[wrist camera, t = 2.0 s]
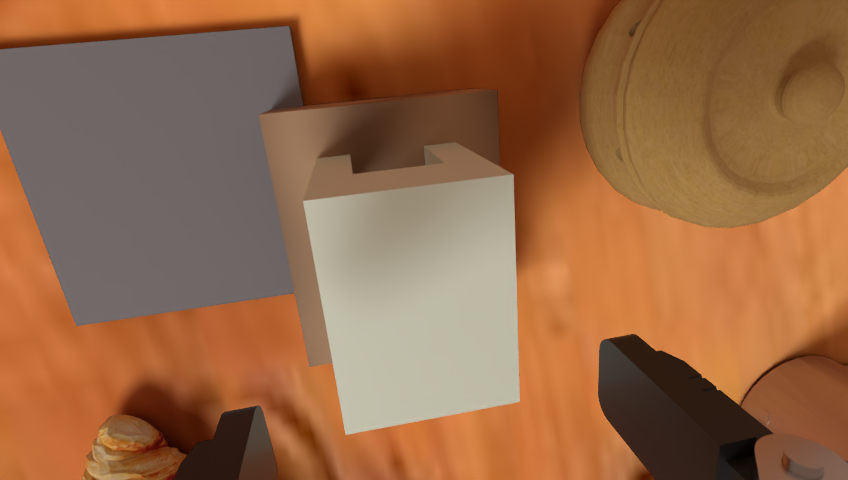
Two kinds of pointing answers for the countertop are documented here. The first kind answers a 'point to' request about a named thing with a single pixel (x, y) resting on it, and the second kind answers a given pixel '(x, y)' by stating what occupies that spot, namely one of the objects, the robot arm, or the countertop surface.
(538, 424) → the countertop surface
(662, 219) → the countertop surface
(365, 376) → the notched cream block
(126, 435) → the croissant
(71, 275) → the felt pad
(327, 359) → the tan square slab
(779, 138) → the pot
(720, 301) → the countertop surface
